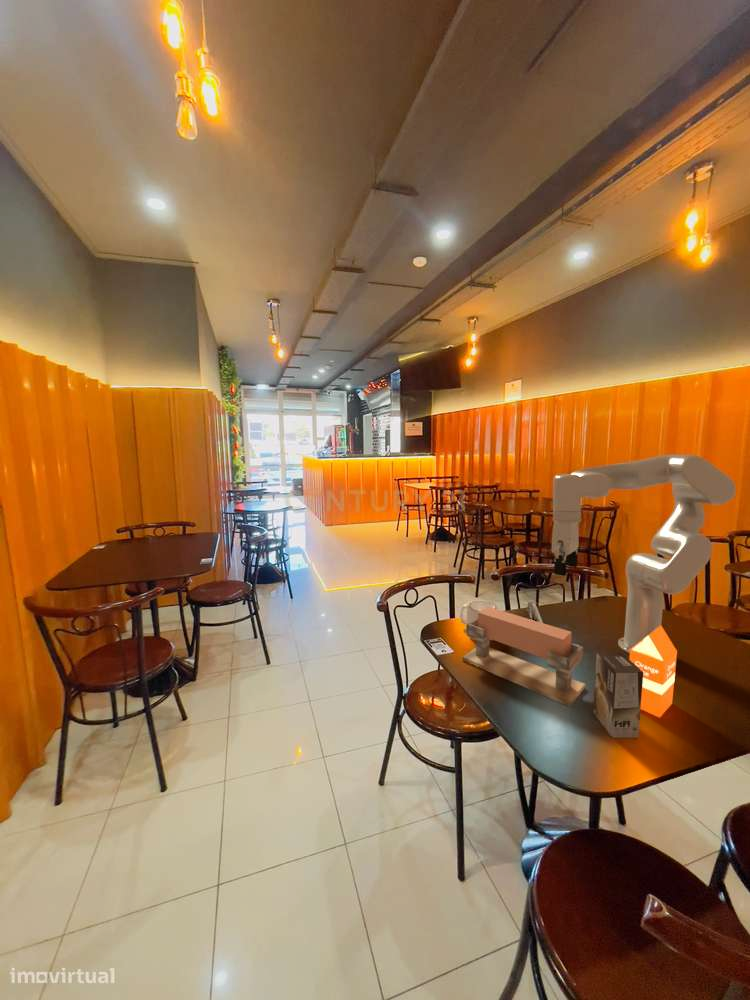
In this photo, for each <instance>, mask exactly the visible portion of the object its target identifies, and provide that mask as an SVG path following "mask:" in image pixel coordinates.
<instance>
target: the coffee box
mask: <svg viewBox="0 0 750 1000" xmlns="http://www.w3.org/2000/svg"><path fill="white" fill-rule="evenodd" d="M595 659H596V660H595V676H594V693H593V710H592V712H593V714H594V716H595V717H596V718H597V719H598V721H599V723H601V725H602V727H603V728H604V729H605V731H606V732H608V734H609V735H610V736H611V738H622V739H623V738H625V739H627V738H635V739H637V738H639V734H640V733H639V732H640V721H641V720H640V719H641V710H642V709H641V697H642V684H643V673H644V672H643V671H642V670H640V669H639V668H638V667H637V666H636V665H635V664H634V663H633V662H631V661H630V660H629V657H627V656H626V655H625V654H624V653H623V652H622V651H621V652H620V651H615V652H614V651H610V652H609V651H606V652H605V651H604V652H596V657H595Z"/></svg>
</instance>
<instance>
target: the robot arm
mask: <svg viewBox="0 0 750 1000" xmlns="http://www.w3.org/2000/svg"><path fill="white" fill-rule="evenodd" d="M669 483H672V485H671V490H672V494H673V501H674V508H673V511H672V513H671V514H670V515H669V517H668V518H667V519H666V521H664V523H663V524H662V526H661V527H660V528H659V529H658V530H657V532H656V533H655V534H654V536H653V537H652V539H651V542H650V547H651V548H652V550H653V552H655V553H657V554H659V555H661V556H663V557H661V556H657V555H654V554H652V553H648V552H647V553H646V552H638V553H637V552H636V553H634V554H632V555H631V556H629V558H627V560H626V563H625V573H626V574H625V575H626V582H627V597H626V598H627V599H626V608H625V621H624V624H625V625H624V635H623V636H622V637H620V638H619V639H618V643H617V644H618V647H620V649H621V650H622V651H623V652H626V653H628V654H630V650H631V649H632V648H633V647H634V646H636V645H637V644H638V643H640V641H642V640H643V639H644V638H645V637H647V636H648V635H649V634H651V633H652V632H653V631H654V630H656V629H657V628H658V627H660V626H662V619H663V608H664V594H668V595H677V594H680V593H682V592H683V591H685V590H686V589H687V588H688V587H689V586H690V584H691V583H692V582H693V580H695V578H696V577H697V576H698V575H699V573H701V571H702V570H703V569H704V567H705V566H706V565H707V564H708V562H709V561H710V559H711V556H712V553H713V545H712V542H711V540H710V539H709V538H708V537H707V536H705V535H703V534H701V533H699V532H700V531H701V529H702V527H704V525H705V521H706V516H705V510H704V506H703V504H707V505H713V506H714V505H715V506H717V505H718V506H720V505H721V506H722V505H725V504H727V503H729V502H731V501H732V500H733V499H734V498H735V496H736V492H737V488H736V485H735V482H734V481H733V480H732V478H730V476H729V475H727V474H726V473H724V472H723V471H722V470H720V468H718V467H716V466H715V465H713V464H712V463H711V462H709V461H708V460H706V459H704V457H703V458H702V457H700V456H698V455H694V454H675V453H674V454H672V453H671V454H662V455H658V456H653V457H649V458H648V457H647V458H643V459H639V460H634V461H628V462H620V463H615V464H614V463H613V464H607V465H599V466H593V467H589V468H588V467H587V468H584V469H578V470H575V471H573V472H571V473H564V474H563V473H561V474H557V475H555V476H554V477H553V480H552V521H553V527H552V535H551V537H552V539H551V552H552V554H553V558H554V559H553V562H554V564H553V565H554V568H553V570H554V574H555V575H556V576H557V575H558V576H563V577H565V576H566V575H567V567H571V568H573V567H574V568H577V567H578V555H579V553H578V552H579V551H578V548H579V543H580V542H579V541H580V540H579V539H580V537H579V536H580V533H579V531H580V530H579V523H580V522H581V521H582V517H581V515H582V514H581V513H582V509H581V508H582V499H583V498H584V499H585V498H587V499H600V498H603V497H607V496H608V495H609V494H610V492H611V491H612V490H613V489H614V490H629V491H630V490H640V489H645V488H648V487H649V488H650V487H654V486H659V485H662V484H669ZM664 557H666V558H669V559H666V558H664ZM663 593H664V594H663ZM675 649H676V650H677V648H675ZM677 651H678V650H677Z"/></svg>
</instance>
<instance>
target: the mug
mask: <svg viewBox="0 0 750 1000" xmlns="http://www.w3.org/2000/svg"><path fill="white" fill-rule="evenodd" d="M487 607H491V608H494V609H497V608H498V607H497V605H496V604H495V603H494V602H491V601H487V600H482V599H479V600H478V599H475V600H470V601H468V602H467V603H465V604H463V605H462V606H461V608H460V610H459V611H460V613H459V614H460V615H459V616H460V617H459V618H460V620H461V624H464V625H465V628H466V627H467V624H468V623H469V622H471V621H473V620H474V619H476V618H478V612H480V611H482V610H483V609H485V608H487ZM497 610H498V609H497ZM465 613H466V615H465ZM465 634H467V633H466V632H465ZM469 639H471V637H470V638H469ZM473 639H474V638H472V639H471V640H473ZM490 640H491V641H493V640H492V639H490ZM474 641H476V639H475V640H474Z"/></svg>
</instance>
